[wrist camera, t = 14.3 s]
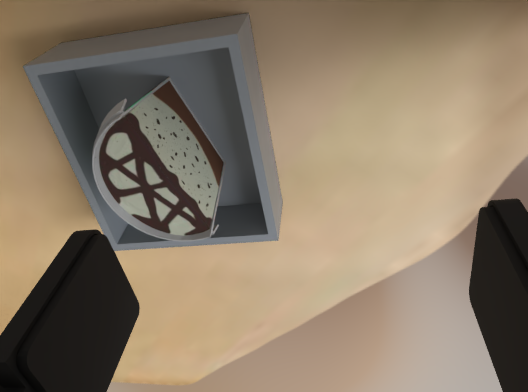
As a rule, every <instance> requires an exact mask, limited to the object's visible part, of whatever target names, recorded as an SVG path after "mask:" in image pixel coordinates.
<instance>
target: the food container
mask: <svg viewBox="0 0 528 392" xmlns="http://www.w3.org/2000/svg"><path fill="white" fill-rule="evenodd" d="M126 102H127V100H126V99H124V100H122V101H121V102H120V103H118V104H117V105H116V106H115V107H114V108H113V109H112V110H111V111H110V112H109V113H108V114H107V116H106V117H105V119H104V120H103V122H102V124H101V126H100V129H99V131H98V134H97V137H96V139H95V142H94V146H93V152H92V168H93V174H94V179H95V182H96V184H97V187H98V190H99V191H100V193H101V195H102V197H103V198H104V200H105V201H106V202H107V204H108V205H109V206H110V208H111V209H112V210H113V211H114V212H115V213H116V214H117V215H118V216H119V217H121V218H122V219H123V220H124V221H126V222H127V223H128V224H130V225H131V226H133V227H135V228H136V229H138V230H140V231H142V232H144V233H146V234H149V235H152V236H155V237H158V238H162V239H166V240H172V241H196V240H202V239H206V238H210V237H211V235H213V234H214V233H215V232H216V230H217V228H218V226H219V225H218V224H217V225H214V221H215V216H216V211H217V206H218V201H219V196H220V191H221V186H222V180H223V175H224V170H225V165H226V161H225V159H224V158H223V156H222V155H221V153H220V152H219V150H218V149H217V147H216V146H215V144H214V143H213V141H212V140H211V138H210V137H209V135H208V134H207V132H206V131H205V129H204V128H203V126H202V125H201V123H200V122H199V120H198V119H197V117H196V115H195V114H194V112H193V111H192V109H191V108H190V106H189V105H188V103H187V102H186V100H185V99H184V97H183V96H182V94H181V93H180V91H179V90H178V88H177V87H176V85H175V84H174V82H173V81H172V79H171V78H170V77H168V78H167V79H165V80H164V81H162V82H161V83H159V84H158V85H157V86H156V87H154V88H153V89H152V90H151V91H149V92H148V93H147V94H145V95H144V96H143V97H142V98H140V99H139V100H138V101H137V102H135V103H134V104H133V105H131V106H130V107H129V108H128V109H126V110H125V111H124V112H123V109H124V107H125V104H126Z"/></svg>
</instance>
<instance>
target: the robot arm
mask: <svg viewBox="0 0 528 392" xmlns="http://www.w3.org/2000/svg"><path fill="white" fill-rule="evenodd" d="M469 295H470V302H471V305H472V308H473V310H474V313H475V316H476V319H477V321H478V324H479V327H480V330H481V332H482V335H483V338H484V341H485V344H486V346H487V349H488V352H489V355H490V357H491V360H492V363H493V366H494V368H495V371H496V374H497V377H498V379H499V382H500V385H501V388H502V390H503V392H528V212H527V210H526V209H525V207H524V206H523V204H522V203H521V202H520V200H519V199H505V200H491V201H489V203H488V206H487V207H482V208H480V211H479V217H478V224H477V232H476V240H475V248H474V256H473V263H472V271H471V278H470V286H469ZM138 315H139V302H138V300H137V298H136V296H135V294H134V292H133V290H132V287H131V285H130V283H129V281H128V279H127V277H126V275H125V273H124V271H123V269H122V267H121V265H120V263H119V261H118V258H117V256H116V254H115V252H114V250H113V248H112V246H111V244H110V242H109V240H108V238H107V236H105V235H103V234H101V232H100V231H98V230H83V231H76V232H74V233H73V234H72V235H71V236H70V238H69V239H68V240H67V242H66V243H65V245H64V246H63V247H62V249H61V250H60V252H59V253H58V255H57V256H56V257H55V259H54V260H53V262H52V263H51V264H50V266H49V267H48V269H47V270H46V272H45V273H44V274H43V276H42V277H41V279H40V280H39V281H38V283H37V284H36V286H35V287H34V288H33V290H32V291H31V293H30V294H29V296H28V297H27V298H26V300H25V301H24V303H23V304H22V305H21V307H20V308H19V310H18V311H17V313H16V314H15V315H14V317H13V318H12V320H11V321H10V322H9V324H8V325H7V327H6V328H5V330H4V331H3V332H2V334H1V335H0V392H106V391H107V389H108V387H109V385H110V382H111V380H112V377H113V375H114V373H115V370H116V368H117V365H118V363H119V361H120V358H121V356H122V353H123V351H124V349H125V346H126V344H127V342H128V339H129V337H130V334H131V332H132V330H133V327H134V325H135V322H136V320H137V318H138Z"/></svg>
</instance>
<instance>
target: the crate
mask: <svg viewBox="0 0 528 392" xmlns="http://www.w3.org/2000/svg"><path fill="white" fill-rule="evenodd" d="M23 68H24V70H25V72H26V74H27V76H28V78H29V80H30V82H31V84H32V87H33V89H34V91H35V93H36V95H37V97H38V99H39V101H40V103H41V105H42V107H43V109H44V111H45V113H46V115H47V117H48V120H49V122H50V124H51V126H52V128H53V130H54V132H55V134H56V136H57V138H58V140H59V142H60V144H61V146H62V148H63V150H64V153H65V155H66V157H67V159H68V161H69V163H70V165H71V167H72V169H73V171H74V173H75V175H76V177H77V179H78V181H79V184H80V186H81V188H82V190H83V192H84V194H85V196H86V198H87V200H88V202H89V204H90V206H91V208H92V210H93V212H94V214H95V217H96V219H97V221H98V223H99V225H100V227H101V229H102V231H103V233H104V235H105V236H107V238H108V240H109V242H110V244H111V246H112V248H113V250H114V251H119V250H135V249H151V248H167V247H183V246H198V245H214V244H230V243H246V242H261V241H277V240H278V239H279V230H280V222H281V213H282V204H283V201H282V195H281V190H280V184H279V179H278V173H277V167H276V162H275V156H274V151H273V145H272V140H271V134H270V129H269V123H268V117H267V112H266V106H265V101H264V95H263V90H262V84H261V79H260V73H259V67H258V62H257V56H256V51H255V45H254V40H253V34H252V29H251V23H250V18H249V13H245V14H239V15H233V16H226V17H220V18H214V19H208V20H201V21H195V22H189V23H183V24H176V25H170V26H164V27H157V28H151V29H145V30H139V31H132V32H126V33H120V34H114V35H107V36H101V37H95V38H89V39H82V40H76V41H70V42H64V43H60V44H58V45H57V46H55V47H53V48H52V49H50V50H49V51H47V52H45V53H44V54H42V55H40V56H39V57H37V58H35V59H34V60H32V61H31V62H29V63H27V64H26V65H24V66H23ZM168 77H170V78H171V79H172V81H173V82H174V84H175V85H176V87H177V88H178V90H179V91H180V93H181V94H182V96H183V97H184V99H185V100H186V102H187V103H188V105H189V106H190V108H191V109H192V111H193V112H194V114H195V115H196V117H197V119H198V120H199V122H200V123H201V125H202V126H203V128H204V129H205V131H206V132H207V134H208V135H209V137H210V138H211V140H212V141H213V143H214V144H215V146H216V147H217V149H218V150H219V152H220V153H221V155H222V156H223V158H224V159H225V161H226V165H225V170H224V175H223V180H222V186H221V191H220V196H219V201H218V206H217V211H216V216H215V221H214V225H217V224H218V225H219V226H218V228H217V230H216V232H215V233H214V234H213V235H211V237H210V238H206V239H202V240H196V241H172V240H166V239H162V238H158V237H155V236H152V235H149V234H146V233H144V232H142V231H140V230H138V229H136V228H135V227H133V226H131V225H130V224H128V223H127V222H126V221H124V220H123V219H122V218H121V217H119V216H118V215H117V214H116V213H115V212H114V211H113V210H112V209H111V208H110V206H109V205H108V204H107V202H106V201H105V200H104V198H103V197H102V195H101V193H100V191H99V190H98V187H97V184H96V182H95V179H94V174H93V168H92V152H93V146H94V142H95V139H96V137H97V134H98V131H99V129H100V126H101V124H102V122H103V120H104V119H105V117H106V116H107V114H108V113H109V112H110V111H111V110H112V109H113V108H114V107H115V106H116V105H117V104H118V103H120V102H121V101H122V100H124V99H126V100H127V102H126V104H125V107H124V109H123V112H124V111H125V110H126V109H128V108H129V107H130V106H131V105H133V104H134V103H135V102H137V101H138V100H139V99H140V98H142V97H143V96H144V95H145V94H147V93H148V92H149V91H151V90H152V89H153V88H154V87H156V86H157V85H158V84H159V83H161V82H162V81H164V80H165V79H167V78H168Z"/></svg>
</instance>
